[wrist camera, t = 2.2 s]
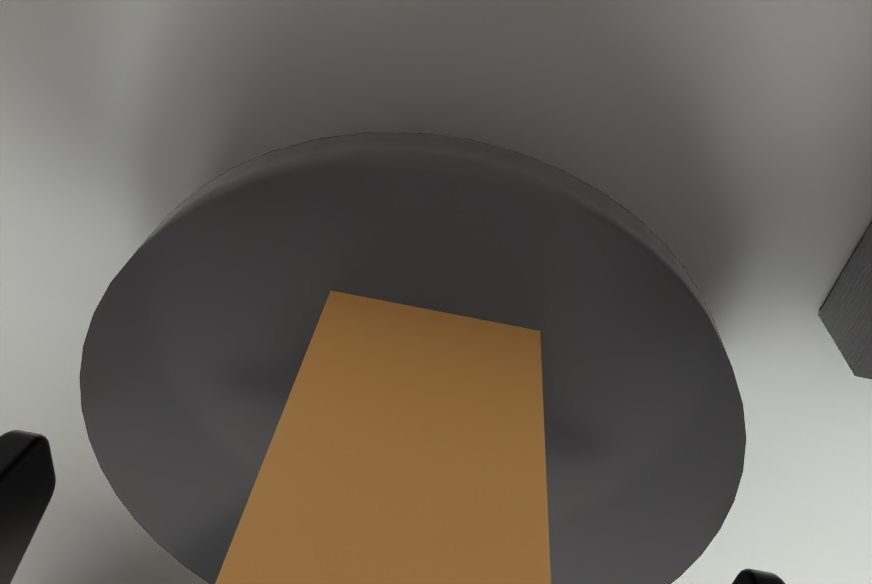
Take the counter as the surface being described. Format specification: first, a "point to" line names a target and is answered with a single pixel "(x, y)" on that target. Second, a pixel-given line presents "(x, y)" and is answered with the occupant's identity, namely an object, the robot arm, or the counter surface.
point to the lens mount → (853, 310)
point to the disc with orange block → (412, 376)
